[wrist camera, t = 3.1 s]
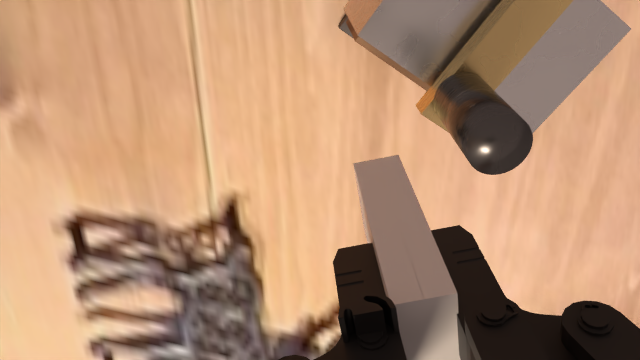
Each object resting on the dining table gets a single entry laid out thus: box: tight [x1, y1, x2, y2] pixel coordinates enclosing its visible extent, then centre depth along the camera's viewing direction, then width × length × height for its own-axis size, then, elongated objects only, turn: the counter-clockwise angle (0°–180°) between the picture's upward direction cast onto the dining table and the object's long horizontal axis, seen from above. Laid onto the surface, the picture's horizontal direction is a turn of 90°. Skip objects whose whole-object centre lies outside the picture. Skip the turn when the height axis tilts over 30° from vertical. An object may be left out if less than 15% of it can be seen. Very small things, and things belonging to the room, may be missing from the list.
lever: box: [416, 0, 573, 175], centre depth 19 cm, size 13×4×6 cm, turn 145°
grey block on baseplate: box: [343, 0, 631, 133], centre depth 25 cm, size 10×7×5 cm
